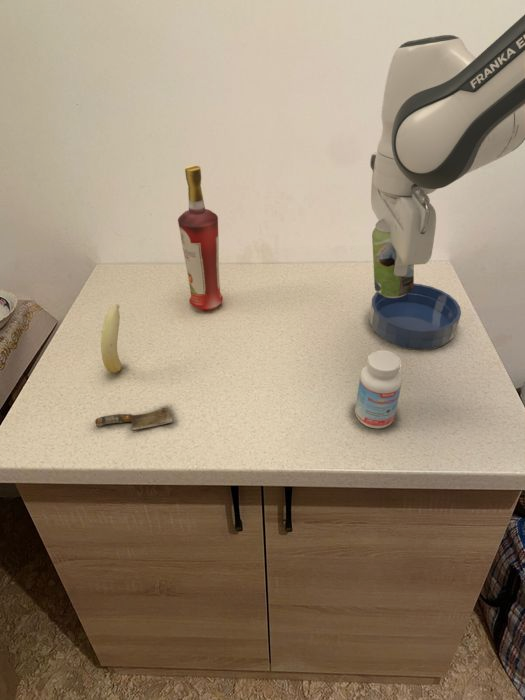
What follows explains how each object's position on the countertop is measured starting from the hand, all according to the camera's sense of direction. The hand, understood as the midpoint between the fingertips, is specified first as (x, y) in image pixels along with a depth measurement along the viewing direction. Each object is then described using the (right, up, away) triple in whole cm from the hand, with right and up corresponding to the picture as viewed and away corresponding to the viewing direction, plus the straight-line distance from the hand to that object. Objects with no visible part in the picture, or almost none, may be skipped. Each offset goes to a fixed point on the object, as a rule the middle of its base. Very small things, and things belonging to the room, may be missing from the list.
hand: (392, 262), depth 78 cm
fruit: (-45, -17, +10) cm, 50 cm away
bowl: (+9, -9, +19) cm, 23 cm away
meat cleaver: (-40, -25, +1) cm, 47 cm away
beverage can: (0, -4, +3) cm, 5 cm away
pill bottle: (-3, -24, +1) cm, 24 cm away
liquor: (-32, -4, +26) cm, 41 cm away
